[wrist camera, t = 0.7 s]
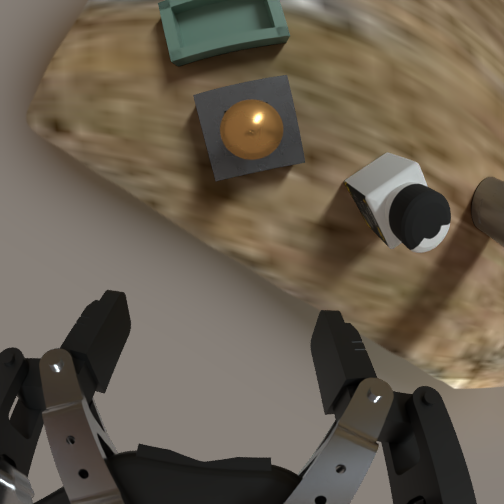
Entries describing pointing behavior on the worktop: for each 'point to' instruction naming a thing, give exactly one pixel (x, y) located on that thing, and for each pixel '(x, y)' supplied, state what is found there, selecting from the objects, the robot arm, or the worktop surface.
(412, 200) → the medicine bottle
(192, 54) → the tray
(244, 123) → the brass-capped metal pin
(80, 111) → the worktop surface
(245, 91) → the block
